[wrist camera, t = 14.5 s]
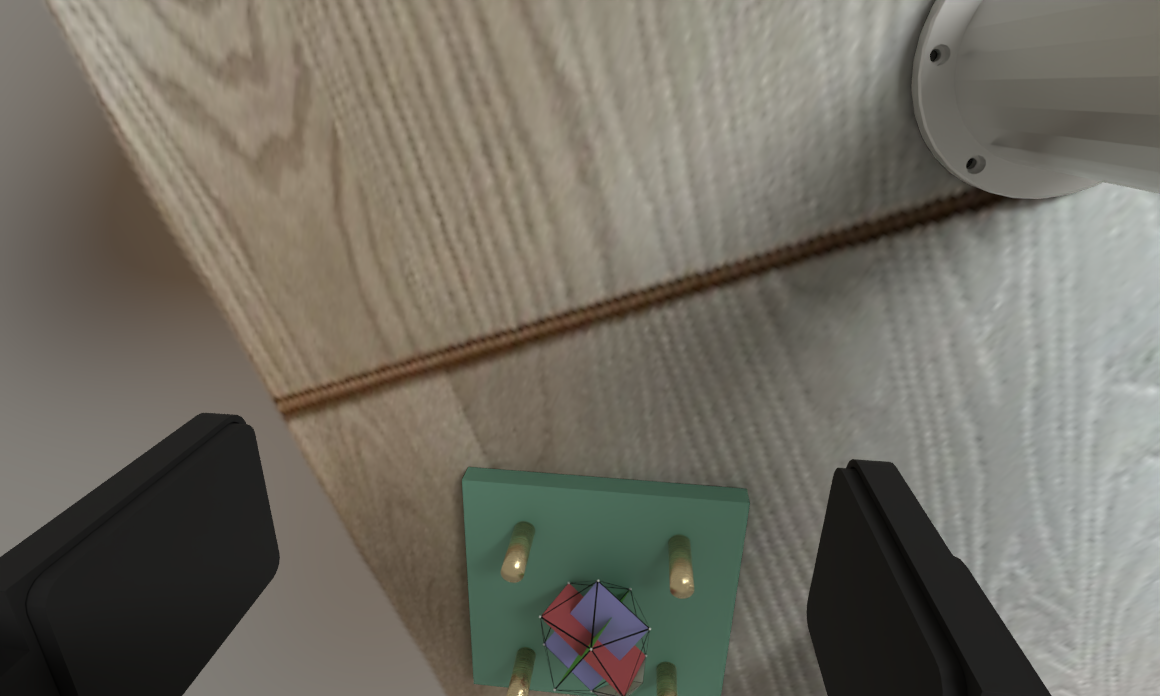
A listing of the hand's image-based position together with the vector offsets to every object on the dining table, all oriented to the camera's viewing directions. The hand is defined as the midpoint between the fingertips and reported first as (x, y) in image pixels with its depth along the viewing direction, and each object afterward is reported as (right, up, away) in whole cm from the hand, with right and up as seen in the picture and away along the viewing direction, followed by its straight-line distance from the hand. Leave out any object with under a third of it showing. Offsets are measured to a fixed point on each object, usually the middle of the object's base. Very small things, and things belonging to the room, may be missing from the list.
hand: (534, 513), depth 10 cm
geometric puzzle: (+2, -14, +33) cm, 36 cm away
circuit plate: (+2, -14, +34) cm, 37 cm away
